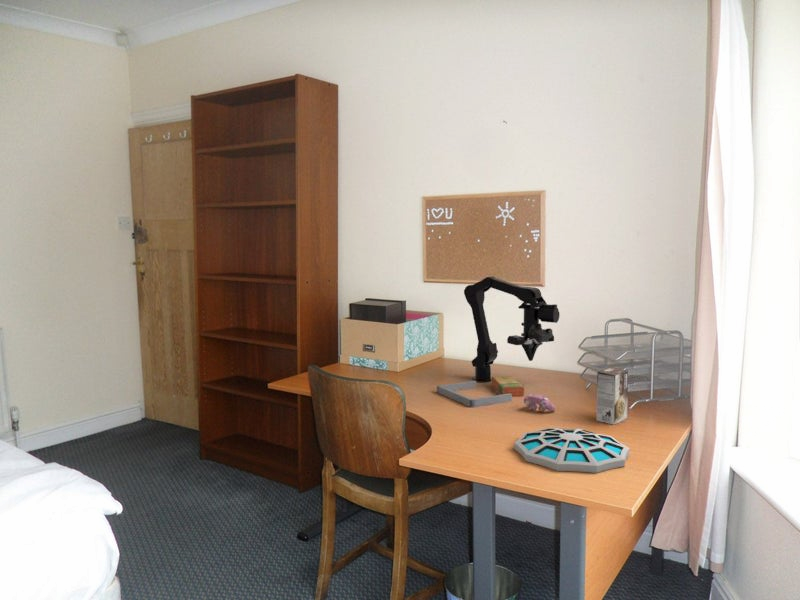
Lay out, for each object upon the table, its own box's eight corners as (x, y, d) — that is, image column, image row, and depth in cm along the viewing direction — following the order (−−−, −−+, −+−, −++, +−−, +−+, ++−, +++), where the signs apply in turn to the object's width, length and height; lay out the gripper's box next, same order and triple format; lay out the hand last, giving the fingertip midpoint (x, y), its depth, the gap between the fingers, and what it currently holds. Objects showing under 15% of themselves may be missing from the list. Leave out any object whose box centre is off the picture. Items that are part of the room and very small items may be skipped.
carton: (511, 386, 242) (512, 376, 241) (524, 397, 226) (524, 386, 226) (491, 387, 241) (491, 376, 241) (502, 398, 225) (502, 386, 225)
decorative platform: (493, 453, 169) (493, 435, 169) (550, 428, 190) (550, 413, 189) (596, 484, 148) (597, 464, 147) (649, 453, 168) (649, 435, 167)
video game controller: (524, 412, 211) (520, 396, 208) (531, 404, 213) (526, 388, 210) (550, 418, 204) (546, 402, 201) (557, 410, 207) (552, 393, 204)
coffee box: (608, 414, 202) (610, 366, 201) (627, 418, 198) (629, 369, 196) (595, 420, 196) (596, 371, 194) (614, 425, 191) (615, 374, 190)
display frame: (436, 392, 233) (436, 385, 232) (474, 386, 241) (474, 380, 240) (471, 407, 212) (471, 400, 212) (511, 400, 220) (511, 394, 220)
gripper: (525, 325, 224) (524, 367, 226) (564, 321, 233) (563, 361, 235) (506, 321, 234) (506, 361, 236) (544, 318, 243) (544, 356, 244)
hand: (530, 360), depth 237 cm, fingers closed
